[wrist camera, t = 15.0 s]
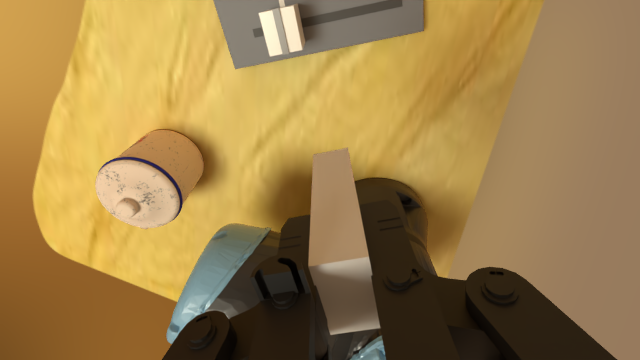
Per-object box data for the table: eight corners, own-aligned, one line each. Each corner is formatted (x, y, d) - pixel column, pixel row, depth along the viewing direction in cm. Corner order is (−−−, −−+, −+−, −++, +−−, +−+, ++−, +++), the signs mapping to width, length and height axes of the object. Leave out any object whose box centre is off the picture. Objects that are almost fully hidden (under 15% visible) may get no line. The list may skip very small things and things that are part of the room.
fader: (305, 42, 32) (302, 50, 27) (277, 48, 32) (269, 57, 28) (297, 3, 30) (293, 4, 26) (267, 9, 30) (258, 12, 26)
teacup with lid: (139, 116, 39) (75, 159, 29) (212, 141, 40) (175, 190, 30) (132, 191, 44) (77, 249, 34) (196, 210, 46) (161, 271, 36)
